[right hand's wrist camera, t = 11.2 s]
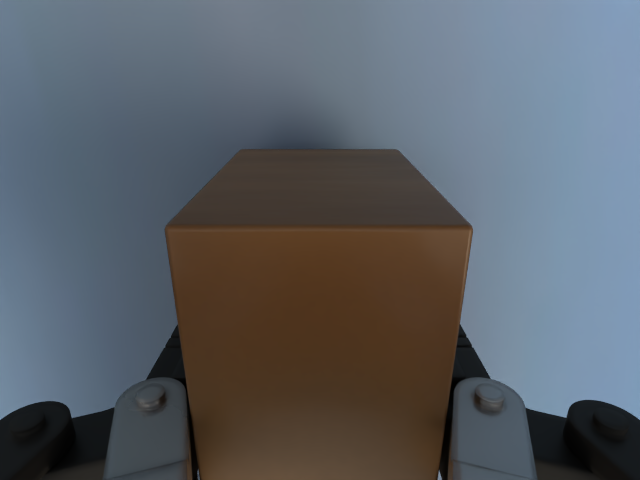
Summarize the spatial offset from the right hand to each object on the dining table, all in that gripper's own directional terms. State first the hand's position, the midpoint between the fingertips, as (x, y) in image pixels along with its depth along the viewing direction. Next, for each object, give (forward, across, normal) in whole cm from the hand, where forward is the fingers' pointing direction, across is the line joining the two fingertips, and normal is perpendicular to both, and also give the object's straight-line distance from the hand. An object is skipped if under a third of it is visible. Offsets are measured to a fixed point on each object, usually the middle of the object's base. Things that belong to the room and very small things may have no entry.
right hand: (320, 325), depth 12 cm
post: (+2, 0, -34) cm, 34 cm away
